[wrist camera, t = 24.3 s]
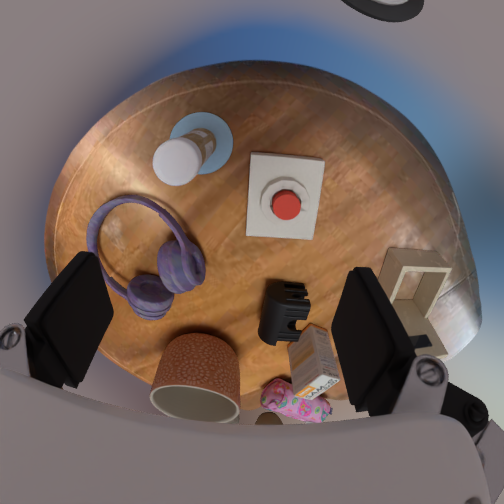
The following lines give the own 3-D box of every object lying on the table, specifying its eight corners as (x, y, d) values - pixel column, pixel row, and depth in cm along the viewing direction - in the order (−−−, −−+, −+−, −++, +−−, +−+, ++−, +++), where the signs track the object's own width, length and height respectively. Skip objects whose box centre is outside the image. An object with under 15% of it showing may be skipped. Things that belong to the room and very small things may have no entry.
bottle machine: (388, 247, 43) (432, 306, 29) (436, 251, 44) (481, 302, 30) (368, 304, 50) (395, 366, 36) (414, 302, 50) (445, 357, 36)
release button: (273, 189, 35) (274, 193, 33) (300, 191, 35) (302, 195, 33) (270, 214, 37) (271, 219, 35) (296, 216, 37) (298, 221, 35)
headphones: (225, 255, 43) (139, 167, 39) (213, 281, 36) (110, 176, 31) (162, 311, 50) (90, 239, 45) (145, 338, 42) (63, 257, 38)
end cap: (265, 277, 46) (267, 303, 40) (305, 281, 47) (312, 306, 41) (257, 318, 51) (257, 345, 45) (293, 321, 52) (297, 347, 46)
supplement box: (303, 351, 57) (312, 401, 45) (286, 345, 55) (292, 397, 44) (328, 329, 53) (341, 380, 42) (310, 321, 52) (322, 375, 41)
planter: (186, 372, 62) (176, 425, 48) (151, 328, 53) (131, 386, 40) (251, 364, 59) (251, 422, 46) (225, 314, 51) (219, 381, 38)
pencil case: (330, 395, 68) (336, 421, 60) (305, 406, 71) (309, 432, 64) (285, 370, 61) (287, 402, 53) (257, 384, 64) (257, 414, 56)
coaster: (170, 113, 33) (169, 113, 32) (234, 112, 33) (234, 112, 32) (170, 173, 37) (169, 174, 37) (231, 174, 37) (231, 175, 37)
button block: (250, 151, 36) (250, 156, 32) (321, 158, 36) (328, 164, 33) (246, 229, 42) (245, 241, 38) (309, 233, 42) (314, 245, 39)
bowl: (270, 422, 77) (271, 440, 71) (246, 416, 75) (246, 435, 68) (290, 412, 73) (292, 431, 67) (265, 405, 70) (266, 426, 64)
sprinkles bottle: (200, 121, 33) (173, 129, 21) (224, 143, 35) (209, 163, 23) (178, 144, 35) (142, 165, 23) (200, 165, 36) (176, 196, 25)
